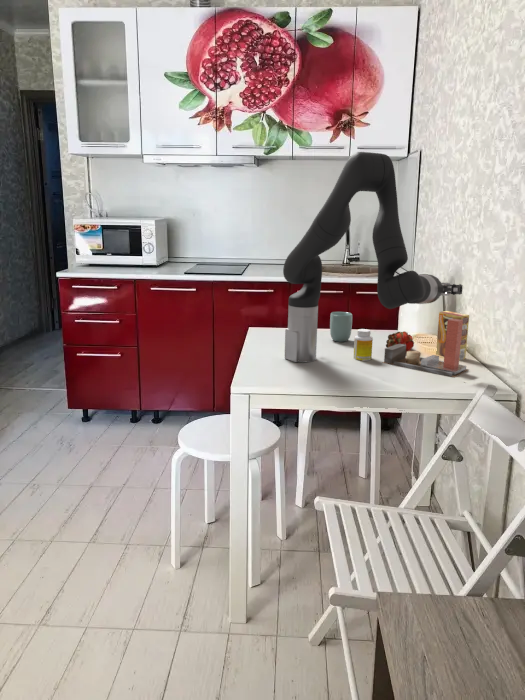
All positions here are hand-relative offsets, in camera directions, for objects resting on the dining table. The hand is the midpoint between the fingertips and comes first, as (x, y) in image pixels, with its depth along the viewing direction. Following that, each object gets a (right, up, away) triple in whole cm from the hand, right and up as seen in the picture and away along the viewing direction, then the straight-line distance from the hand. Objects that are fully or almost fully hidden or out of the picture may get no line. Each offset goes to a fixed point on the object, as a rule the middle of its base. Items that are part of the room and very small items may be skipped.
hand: (440, 288), depth 163 cm
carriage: (+3, -23, +8) cm, 24 cm away
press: (-1, -23, +12) cm, 26 cm away
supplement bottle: (-19, -21, +20) cm, 35 cm away
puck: (-4, -21, +14) cm, 26 cm away
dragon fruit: (-4, -19, +31) cm, 36 cm away
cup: (-22, -14, +49) cm, 55 cm away
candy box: (+10, -21, +24) cm, 33 cm away
